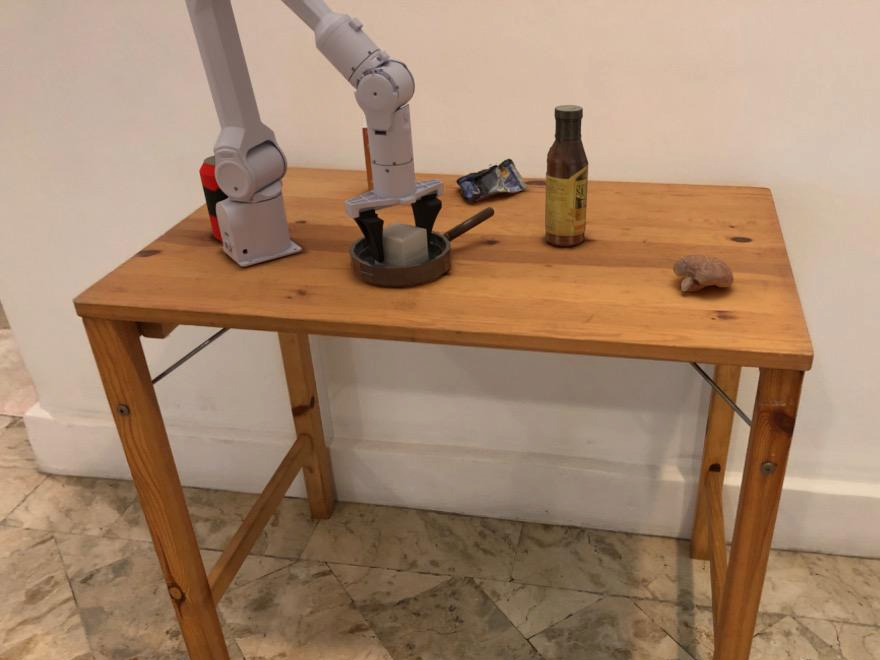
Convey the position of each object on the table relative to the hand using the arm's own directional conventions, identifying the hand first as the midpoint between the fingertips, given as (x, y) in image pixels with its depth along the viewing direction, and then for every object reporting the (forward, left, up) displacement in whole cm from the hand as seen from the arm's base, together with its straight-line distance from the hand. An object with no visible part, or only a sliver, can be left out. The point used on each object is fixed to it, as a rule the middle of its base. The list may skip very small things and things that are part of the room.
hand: (400, 253), depth 113 cm
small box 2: (0, 0, -2) cm, 2 cm away
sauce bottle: (+25, -7, -2) cm, 26 cm away
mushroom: (+29, -31, -2) cm, 43 cm away
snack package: (+28, +17, -2) cm, 33 cm away
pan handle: (+12, 0, 0) cm, 12 cm away
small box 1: (+14, +27, -2) cm, 31 cm away
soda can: (-14, +27, -2) cm, 31 cm away
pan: (0, 0, -2) cm, 2 cm away
